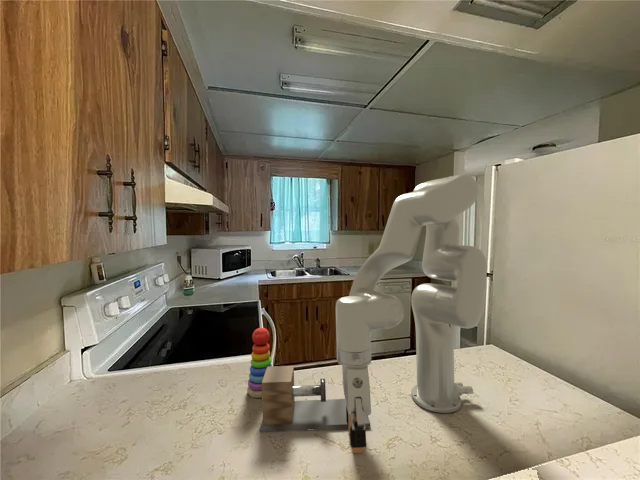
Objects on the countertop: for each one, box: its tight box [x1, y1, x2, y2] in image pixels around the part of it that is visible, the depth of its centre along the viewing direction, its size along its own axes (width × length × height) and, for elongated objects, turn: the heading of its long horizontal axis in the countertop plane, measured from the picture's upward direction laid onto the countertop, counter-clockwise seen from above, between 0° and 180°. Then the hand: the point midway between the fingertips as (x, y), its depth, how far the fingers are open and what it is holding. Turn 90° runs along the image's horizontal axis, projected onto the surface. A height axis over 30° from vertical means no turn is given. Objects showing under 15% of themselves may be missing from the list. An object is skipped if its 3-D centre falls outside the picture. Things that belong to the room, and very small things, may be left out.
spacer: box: [347, 409, 365, 454], centre depth 61 cm, size 2×6×6 cm, turn 1°
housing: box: [259, 365, 371, 433], centre depth 70 cm, size 26×10×11 cm, turn 91°
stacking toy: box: [246, 327, 273, 399], centre depth 81 cm, size 8×8×19 cm
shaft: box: [292, 378, 327, 402], centre depth 69 cm, size 16×5×5 cm, turn 91°
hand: (355, 433), depth 61 cm, fingers closed on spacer, 6 cm apart
